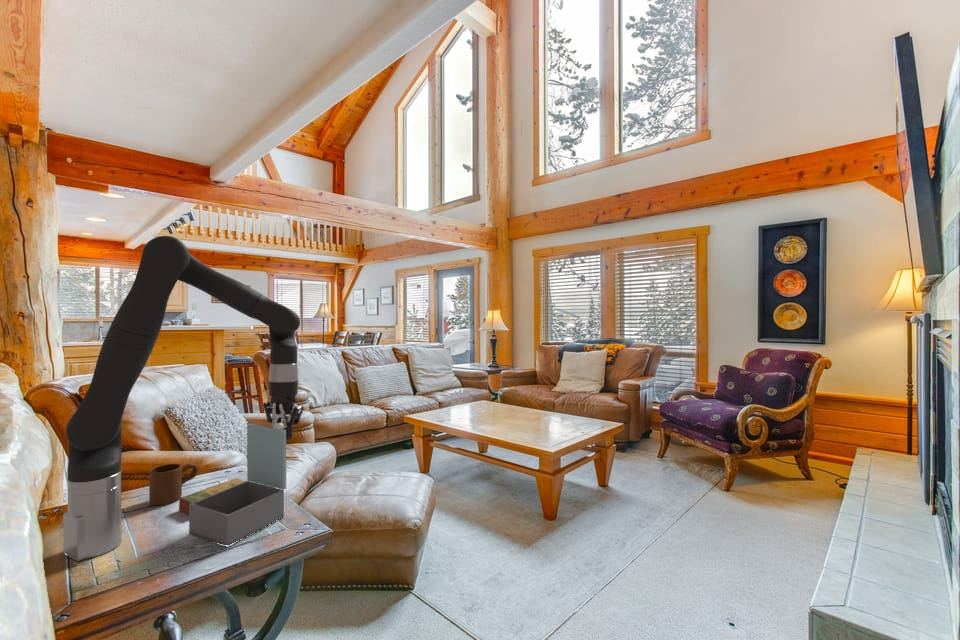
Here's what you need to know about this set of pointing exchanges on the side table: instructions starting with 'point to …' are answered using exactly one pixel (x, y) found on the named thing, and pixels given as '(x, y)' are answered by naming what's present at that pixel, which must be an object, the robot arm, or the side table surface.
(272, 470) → the lid flap
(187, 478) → the mug
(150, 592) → the side table surface
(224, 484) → the carton
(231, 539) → the storage box
